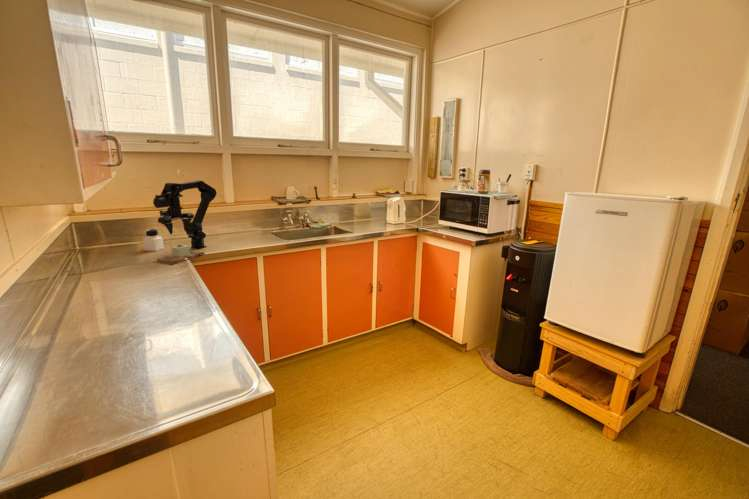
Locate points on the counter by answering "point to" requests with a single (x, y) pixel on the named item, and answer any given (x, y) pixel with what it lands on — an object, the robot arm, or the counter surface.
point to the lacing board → (174, 259)
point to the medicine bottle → (152, 241)
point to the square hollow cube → (180, 251)
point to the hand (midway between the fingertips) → (178, 232)
